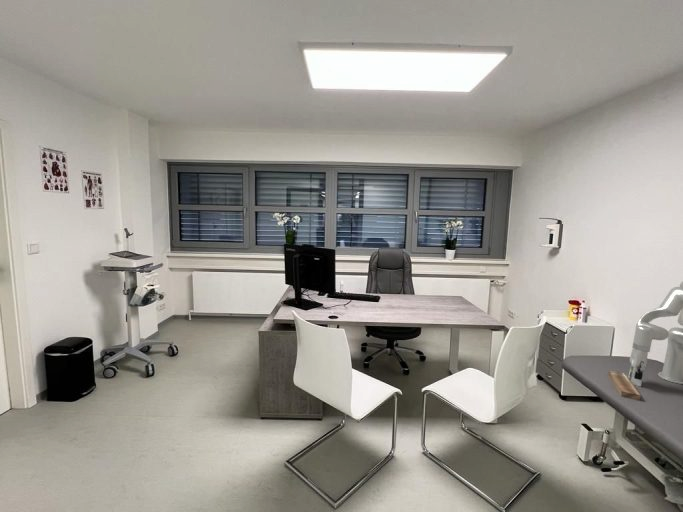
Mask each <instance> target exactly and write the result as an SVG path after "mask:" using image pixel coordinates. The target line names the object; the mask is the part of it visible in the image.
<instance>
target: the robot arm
mask: <svg viewBox="0 0 683 512" xmlns="http://www.w3.org/2000/svg"><path fill="white" fill-rule="evenodd" d="M677 316H678V318H677V323H678V325H680V326H682V327H683V281H681V282H680V284H679V286H674V287H672V288H670V291H669V292H668V293H667V294H666V296H665V298H664V299H663V301H662V302H661V304H660V305H659V307H657V308H653V309H651V310H649V311H647V312H645V313H643V315H642V316H641V317H640V318H639V320H638V321H637V323H636V325H635V331H634V337H633V340H632V342H633V343H632V347H631V348H632V350H631V352H630V356H629V362H630V364H631V363H632V361H633V360H634V363H633V366H634V367H636V372H635V377H634V378H635V379H639V380H642V381H643V379H642V376H643V377H644V374H643V372H644V373H645V369H646V367H647V365H648V364H647V363H648V354H649V353H650V352H651V348H652V347H651V346H652V342H653V340H654V341H664V340H667V347H666V353H665V356H664V357H665V358H664V362H663V366H662V371H659V372H658V373H657V375H658V377H659V378H661V379H663V380H666V381H668V382H671V383H674V384H679V385H683V328H682V327H676V326H675V327H671V328H670V329H668V330H667V329H666V328H664V327H662V326H659V325H655V324H653V323H651V322H652V321H653V320H655V319H658V318H666V317H667V318H669V317H670V318H671V317H677ZM638 366H640V367H638ZM638 368H640V369H639V370H638Z"/></svg>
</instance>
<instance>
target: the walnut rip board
mask: <svg viewBox="0 0 683 512" xmlns="http://www.w3.org/2000/svg"><path fill="white" fill-rule="evenodd" d="M607 376H608V378H609V377H610V378H609V379H610V381H611V383H612V382H613V383H612V384H613V386H614V387H615V389H616V390H617V392H618V394H619V396H620V397H623V398H627V399H632V400H637V401H638V402H640V401H641V397H642V396H641V393H640V392H639V391H638V389H637V388H636V385H633V384H632V382H631V381H630V380H629V378H628V377H629V376H628V375H627V374H626V373H624V372H619V371H613V370H608V372H607Z"/></svg>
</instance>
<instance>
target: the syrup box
mask: <svg viewBox="0 0 683 512" xmlns="http://www.w3.org/2000/svg"><path fill="white" fill-rule="evenodd" d="M633 363H634V360H633V361H632V363H631V362H630V366H629V367H630V368H629V371H628V372H629V373H628V376H627V377H628V378H629V380H630V381H631V382H632V384H633V385H634V386H638V387H641V386H642V383H643V378H644V374H645V371H644V372H643V376H642V380H639V379H635V378H634V377H635V372H636V367H634V366H633ZM638 367H640V366H638ZM639 369H640V368H638V370H639Z"/></svg>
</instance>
